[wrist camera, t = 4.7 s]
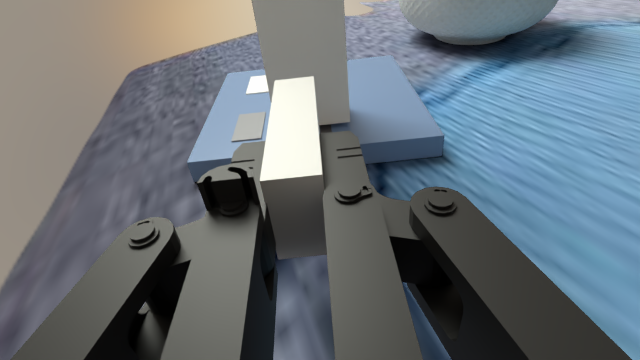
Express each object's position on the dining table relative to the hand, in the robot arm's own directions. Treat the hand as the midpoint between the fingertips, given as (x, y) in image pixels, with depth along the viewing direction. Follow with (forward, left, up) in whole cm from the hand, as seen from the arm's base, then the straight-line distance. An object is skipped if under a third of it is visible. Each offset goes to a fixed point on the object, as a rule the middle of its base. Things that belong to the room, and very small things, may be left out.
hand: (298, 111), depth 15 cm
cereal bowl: (-36, +1, -7) cm, 37 cm away
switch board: (-12, -7, -7) cm, 16 cm away
